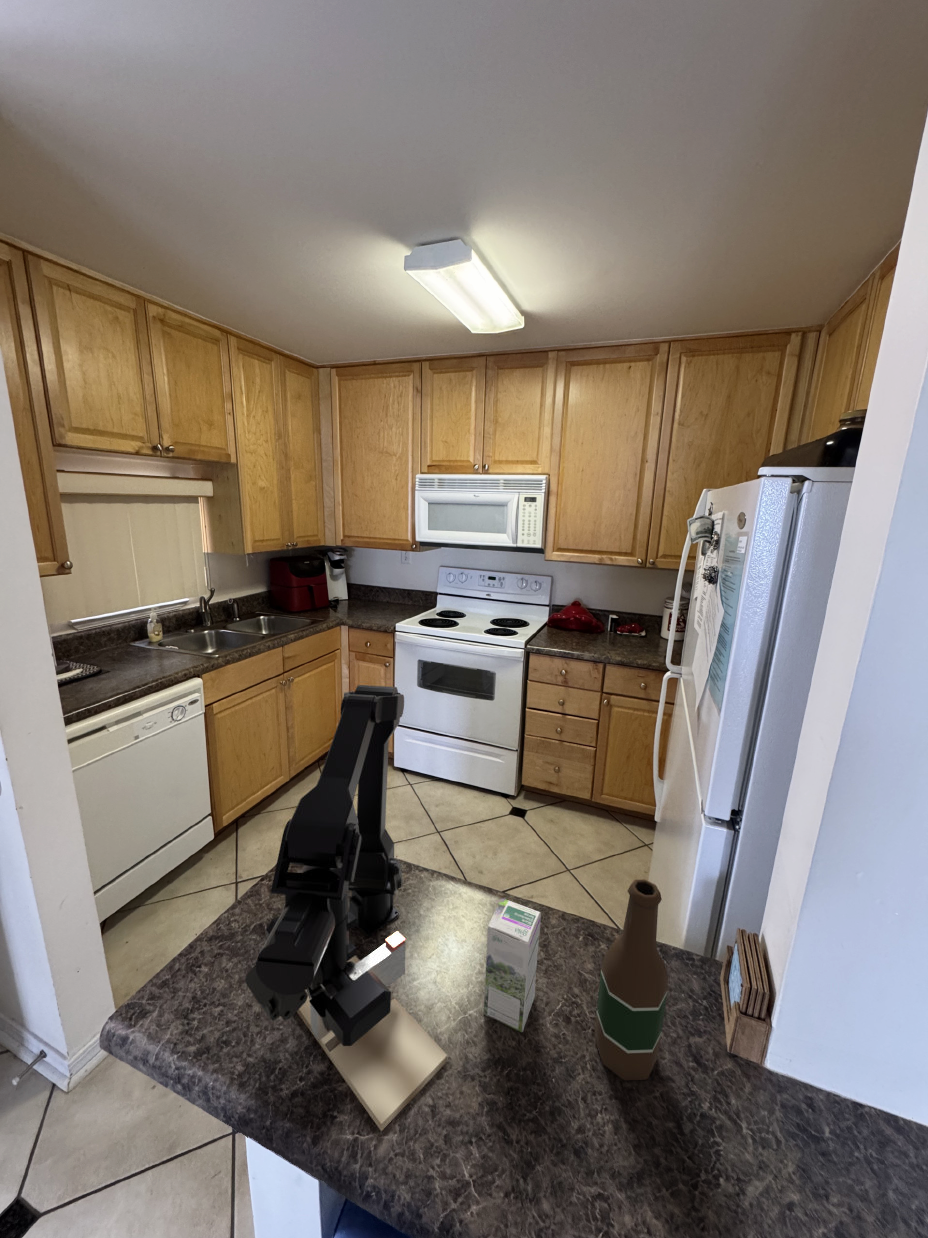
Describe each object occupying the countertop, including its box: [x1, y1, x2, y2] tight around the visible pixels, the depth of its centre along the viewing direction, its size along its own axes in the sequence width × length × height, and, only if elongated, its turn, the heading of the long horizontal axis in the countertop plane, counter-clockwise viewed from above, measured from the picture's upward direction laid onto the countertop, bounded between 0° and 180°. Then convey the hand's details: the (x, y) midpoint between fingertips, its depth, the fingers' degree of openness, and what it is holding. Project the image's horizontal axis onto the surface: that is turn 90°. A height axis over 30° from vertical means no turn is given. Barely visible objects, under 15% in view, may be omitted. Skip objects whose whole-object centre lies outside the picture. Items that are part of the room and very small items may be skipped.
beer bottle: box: [594, 879, 669, 1081], centre depth 61 cm, size 8×8×24 cm
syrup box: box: [483, 898, 542, 1033], centre depth 67 cm, size 6×6×14 cm
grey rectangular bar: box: [310, 931, 406, 1042], centre depth 64 cm, size 4×13×7 cm, turn 135°
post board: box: [296, 955, 448, 1132], centre depth 65 cm, size 10×22×3 cm, turn 46°
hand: (325, 1022), depth 60 cm, fingers closed on grey rectangular bar, 2 cm apart
